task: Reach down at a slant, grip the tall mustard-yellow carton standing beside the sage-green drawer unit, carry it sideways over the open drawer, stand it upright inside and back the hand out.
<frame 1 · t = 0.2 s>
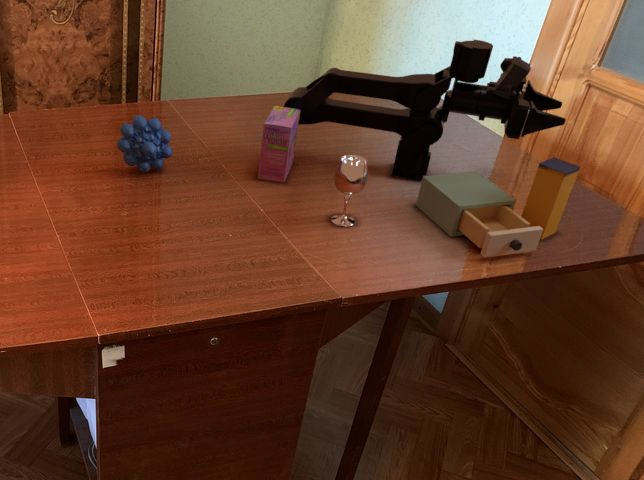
hand: (563, 113, 142), 16 cm above the table, tool horizontal, fingers open, 9 cm apart
wineglass: (342, 221, 141), on the table
cabinet: (459, 217, 143), on the table
blue knobby rounded piece: (146, 174, 155), on the table
drawer: (496, 229, 134), point 3 cm above the table, slide at 8.0 cm
box: (275, 172, 157), on the table
carton: (536, 230, 140), on the table
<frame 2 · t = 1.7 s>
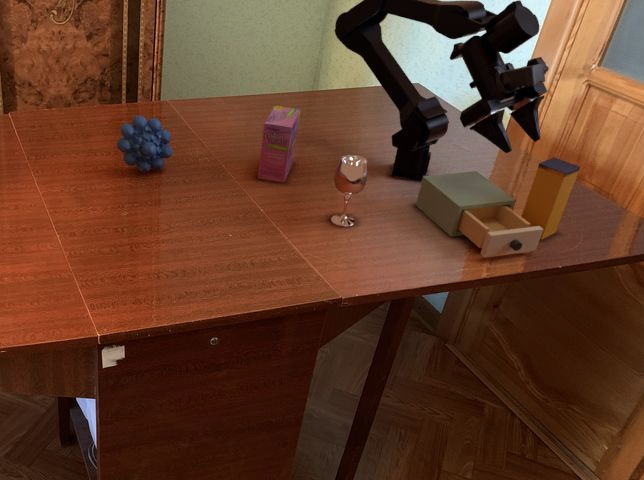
hand: (523, 146, 136), 14 cm above the table, tool tilted 45°, fingers open, 9 cm apart
nothing on the table moved.
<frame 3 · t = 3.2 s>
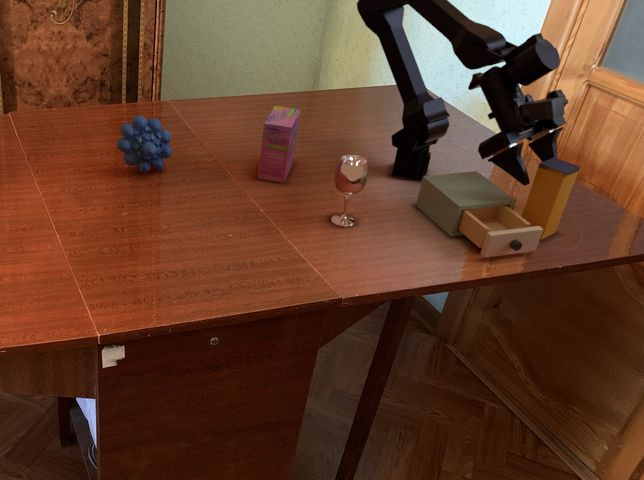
hand: (541, 178, 135), 10 cm above the table, tool tilted 45°, fingers open, 9 cm apart
nothing on the table moved.
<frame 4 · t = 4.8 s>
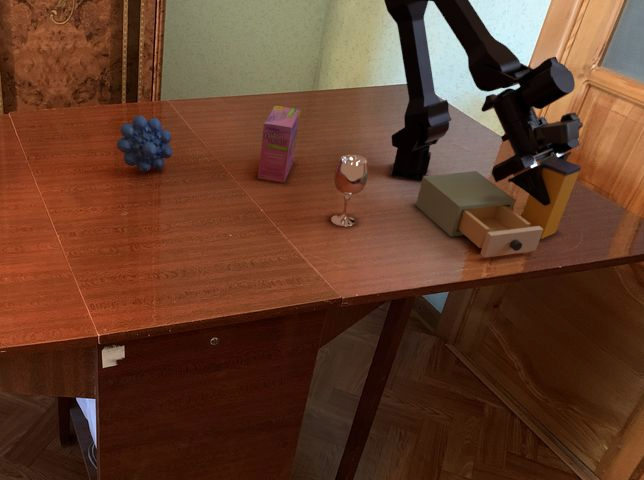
hand: (555, 200, 135), 7 cm above the table, tool tilted 45°, fingers closed on carton, 5 cm apart
carton: (536, 230, 140), on the table, touching gripper
everything else where it was.
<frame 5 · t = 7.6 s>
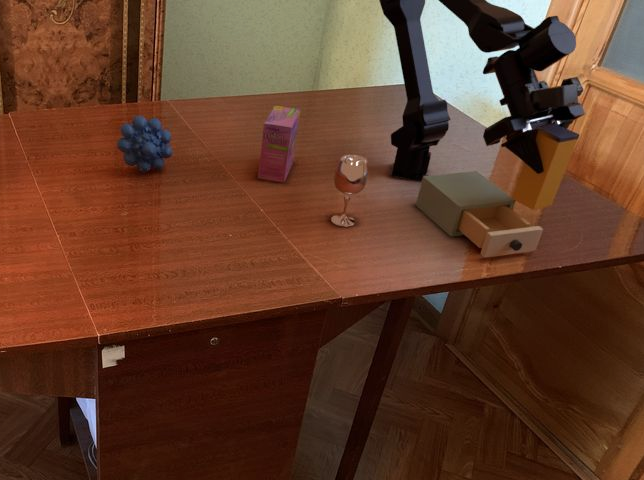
hand: (550, 170, 129), 13 cm above the table, tool tilted 45°, fingers closed on carton, 5 cm apart
carton: (531, 201, 134), point 7 cm above the table, touching gripper
everything else where it was.
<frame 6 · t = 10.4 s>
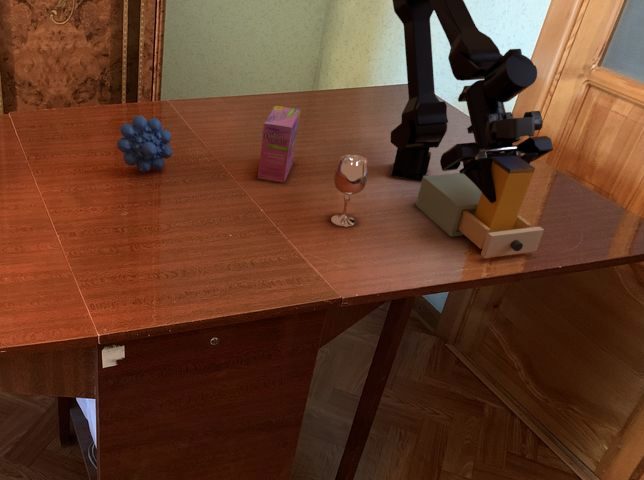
hand: (506, 200, 130), 9 cm above the table, tool tilted 45°, fingers closed on carton, 5 cm apart
drawer: (496, 229, 133), point 3 cm above the table, slide at 8.2 cm, touching carton
carton: (490, 230, 135), point 2 cm above the table, touching drawer, gripper
everything else where it was.
when the fingers open (9 cm above the table, at t = 10.5 s): carton stays where it is, resting on drawer.
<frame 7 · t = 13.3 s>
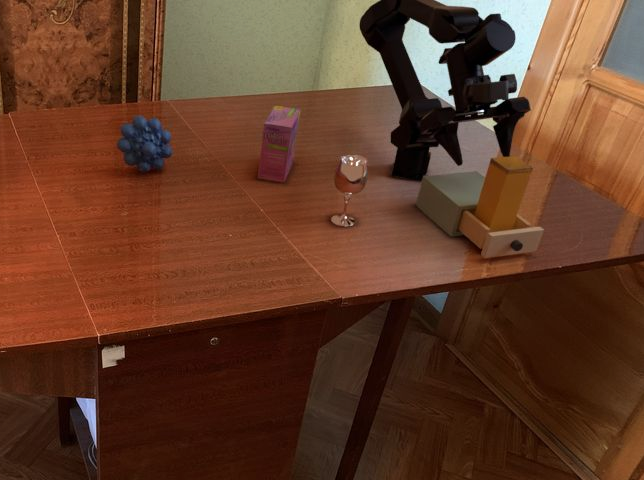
hand: (483, 161, 136), 12 cm above the table, tool tilted 40°, fingers open, 9 cm apart
carton: (490, 231, 135), point 2 cm above the table, touching drawer
everything else where it was.
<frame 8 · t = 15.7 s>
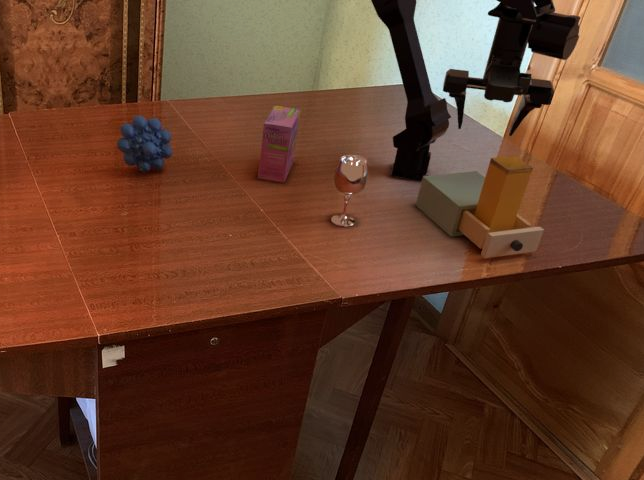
hand: (484, 131, 143), 13 cm above the table, tool pointing down, fingers open, 9 cm apart
nothing on the table moved.
at the end: carton 0.1 cm from the target spot in the drawer, point 2.0 cm above the cabinet's base; carton tilted 0°; the gripper is holding nothing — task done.
